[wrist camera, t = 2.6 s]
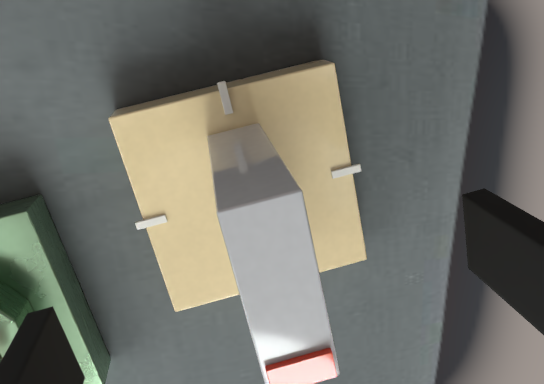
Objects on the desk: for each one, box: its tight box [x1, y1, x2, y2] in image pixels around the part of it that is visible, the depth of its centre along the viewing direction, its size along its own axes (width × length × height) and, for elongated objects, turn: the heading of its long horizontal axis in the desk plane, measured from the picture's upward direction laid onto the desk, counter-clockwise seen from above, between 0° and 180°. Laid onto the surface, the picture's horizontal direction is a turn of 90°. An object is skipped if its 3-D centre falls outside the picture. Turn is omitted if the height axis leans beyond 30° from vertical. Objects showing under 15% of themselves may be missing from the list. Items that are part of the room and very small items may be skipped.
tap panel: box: [109, 59, 367, 312], centre depth 24 cm, size 11×11×2 cm
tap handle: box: [207, 123, 340, 384], centre depth 18 cm, size 6×2×9 cm, turn 12°
